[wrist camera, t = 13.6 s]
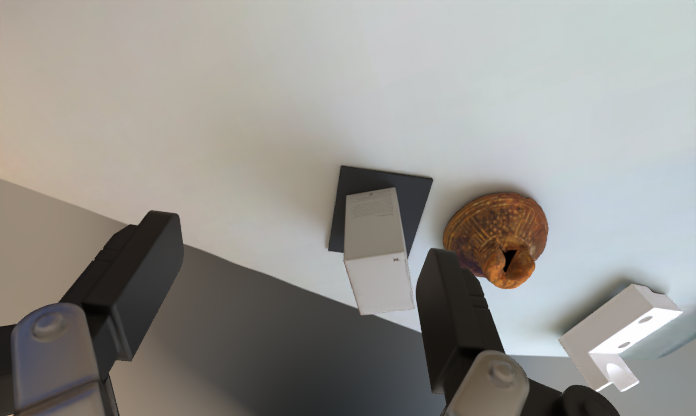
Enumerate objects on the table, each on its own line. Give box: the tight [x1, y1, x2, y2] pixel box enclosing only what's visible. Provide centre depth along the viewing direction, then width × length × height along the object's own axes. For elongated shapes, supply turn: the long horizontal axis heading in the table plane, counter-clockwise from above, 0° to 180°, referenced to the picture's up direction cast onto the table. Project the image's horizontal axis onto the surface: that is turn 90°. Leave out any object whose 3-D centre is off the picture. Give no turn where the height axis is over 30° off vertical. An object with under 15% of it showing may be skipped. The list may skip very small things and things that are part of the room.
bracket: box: [558, 284, 683, 392], centre depth 50 cm, size 13×7×8 cm, turn 155°
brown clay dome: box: [443, 193, 548, 289], centre depth 41 cm, size 12×12×7 cm
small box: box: [343, 187, 415, 315], centre depth 39 cm, size 8×6×10 cm
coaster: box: [328, 166, 433, 259], centre depth 43 cm, size 10×12×1 cm
